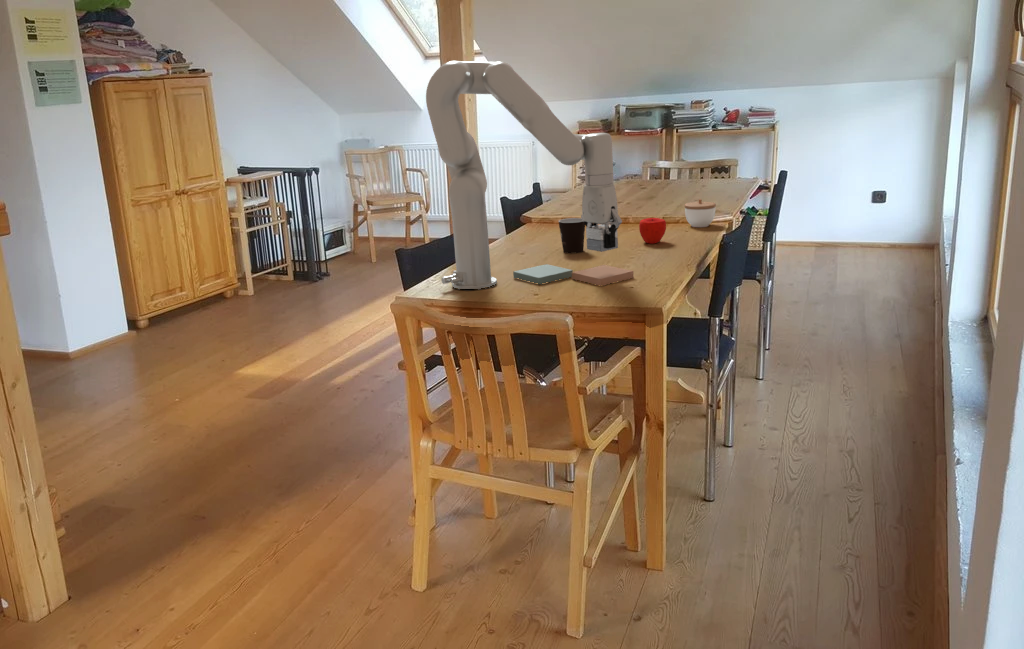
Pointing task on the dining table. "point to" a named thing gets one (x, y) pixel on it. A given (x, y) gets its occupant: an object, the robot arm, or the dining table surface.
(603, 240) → the housing
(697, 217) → the lidded jar
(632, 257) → the dining table surface
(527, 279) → the stand
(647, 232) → the apple
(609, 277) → the stand
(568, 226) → the coffee mug
